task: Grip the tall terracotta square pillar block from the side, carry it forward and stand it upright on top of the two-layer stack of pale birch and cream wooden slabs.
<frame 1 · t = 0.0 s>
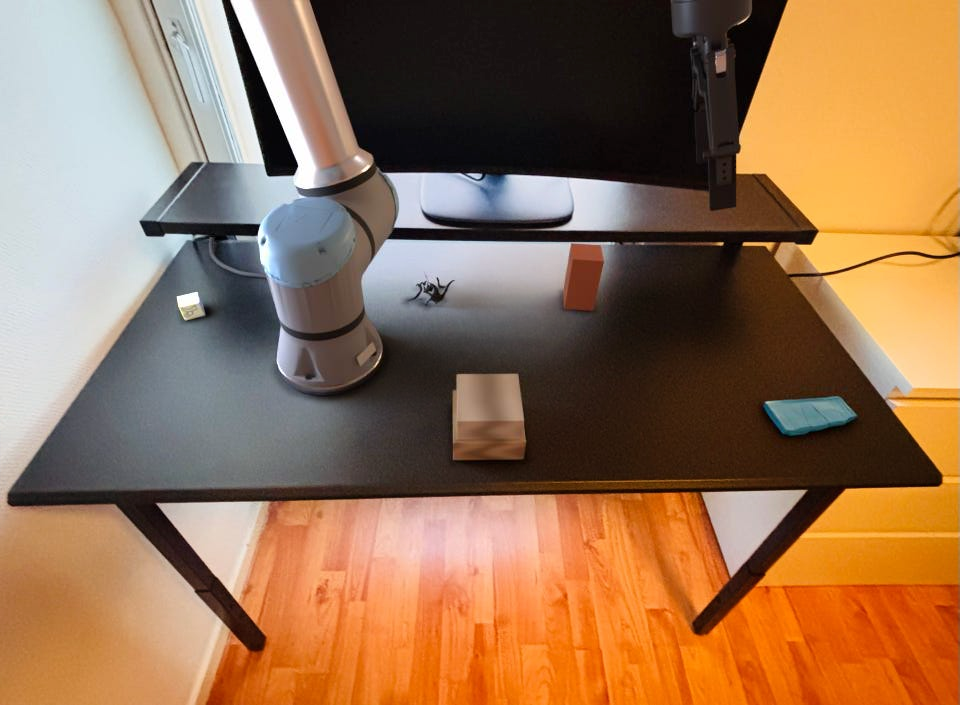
hand: (714, 182, 66), 28 cm above the table, tool tilted 20°, fingers open, 13 cm apart
creature: (428, 299, 93), on the table
sponge: (809, 419, 75), on the table
pillar block: (577, 301, 94), on the table
alphabet block: (194, 314, 88), on the table
slab stack: (486, 432, 71), on the table
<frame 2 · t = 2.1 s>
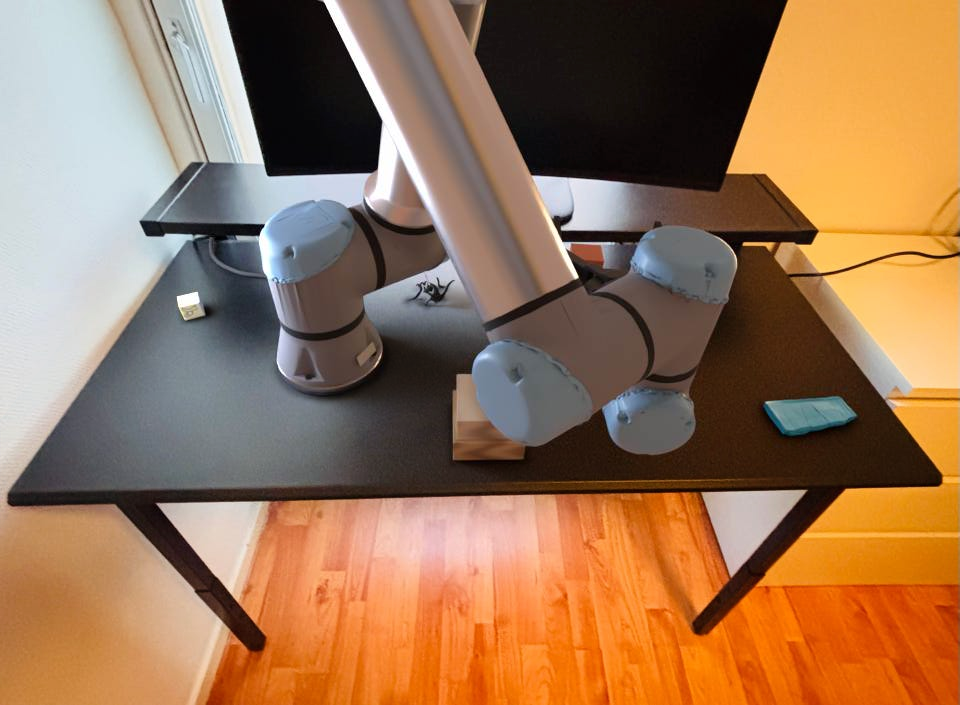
hand: (605, 227, 73), 20 cm above the table, tool horizontal, fingers open, 13 cm apart
nothing on the table moved.
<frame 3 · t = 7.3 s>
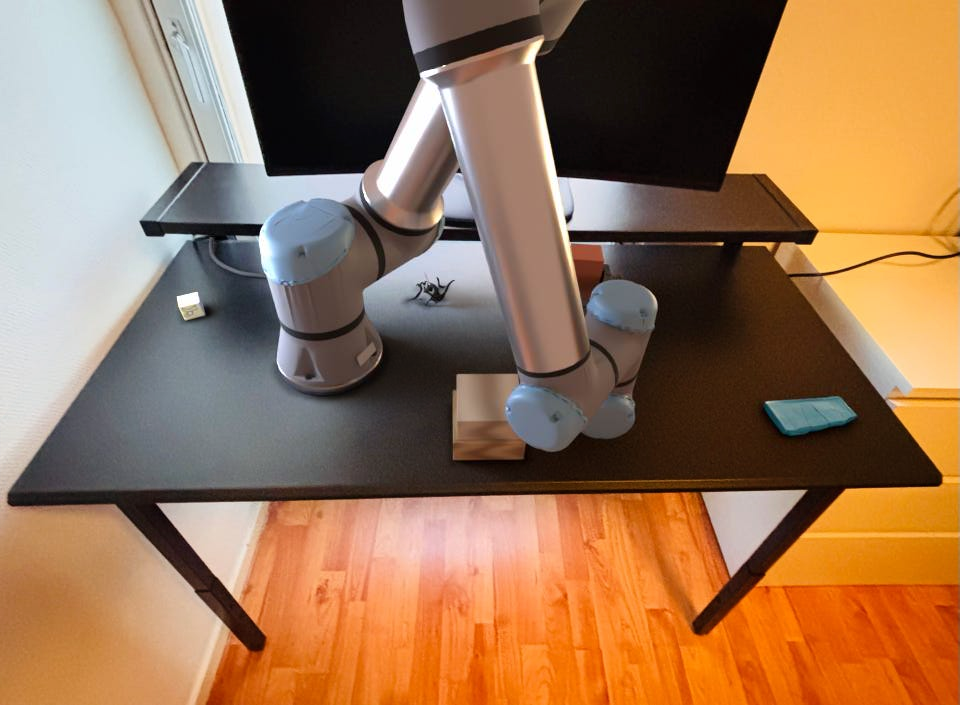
hand: (580, 255, 93), 6 cm above the table, tool horizontal, fingers closed on pillar block, 5 cm apart
pillar block: (577, 301, 94), on the table, touching gripper
everything else where it was.
when the fingers open (13 cm above the table, at t = 17.0 s): pillar block stays where it is, resting on slab stack.
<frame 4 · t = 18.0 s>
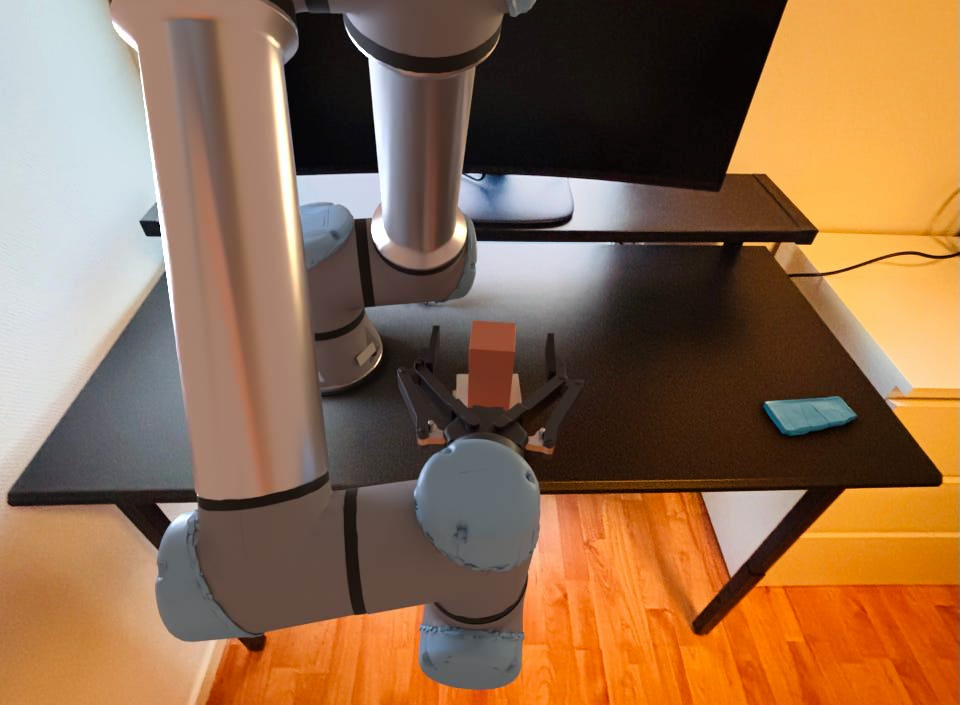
hand: (492, 337, 64), 14 cm above the table, tool horizontal, fingers open, 13 cm apart
pillar block: (489, 396, 66), point 7 cm above the table, touching slab stack
slab stack: (486, 432, 71), on the table, touching pillar block
everything else where it was.
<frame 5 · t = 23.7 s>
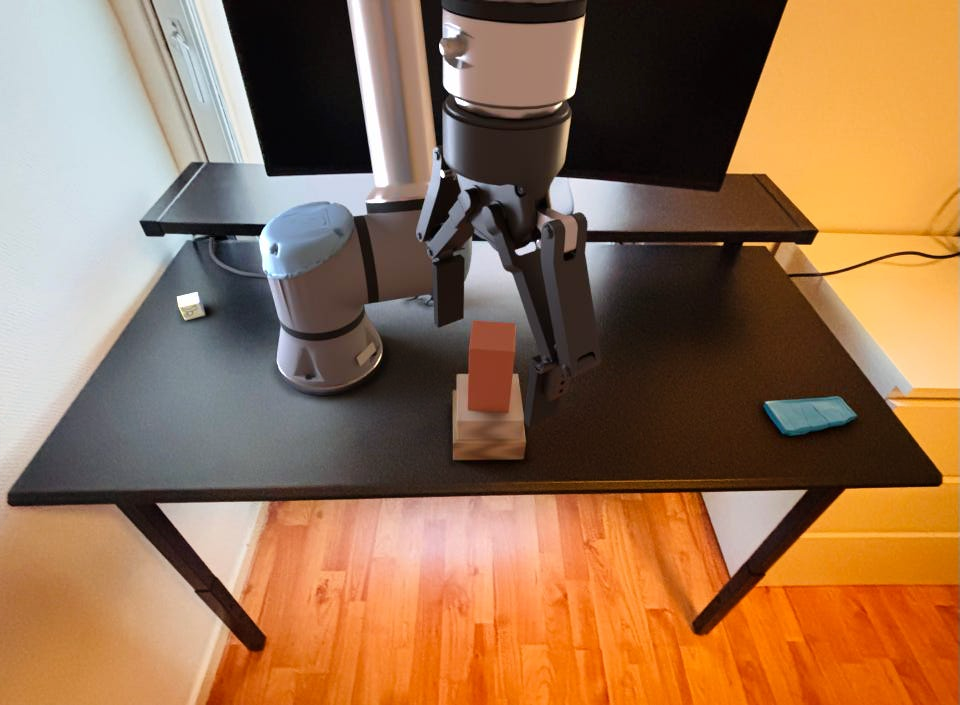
hand: (490, 364, 45), 25 cm above the table, tool pointing down, fingers open, 13 cm apart
nothing on the table moved.
at the end: pillar block 0.1 cm off-centre on the slab stack, point 7.0 cm above the slab stack's base; pillar block tilted 0°; the gripper is holding nothing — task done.
